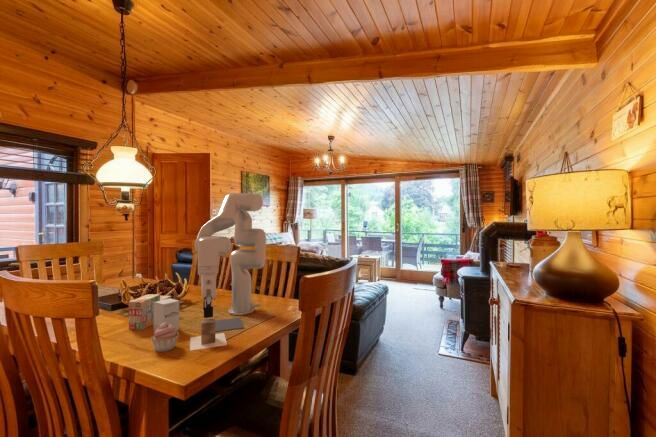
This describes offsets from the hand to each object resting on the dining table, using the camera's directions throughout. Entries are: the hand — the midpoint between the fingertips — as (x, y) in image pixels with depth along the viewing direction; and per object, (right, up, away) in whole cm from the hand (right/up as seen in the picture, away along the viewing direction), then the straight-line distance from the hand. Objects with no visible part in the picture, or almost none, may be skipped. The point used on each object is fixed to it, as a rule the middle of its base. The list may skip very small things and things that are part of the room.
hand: (207, 313), depth 123 cm
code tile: (0, -11, 0) cm, 11 cm away
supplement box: (-22, -11, +12) cm, 27 cm away
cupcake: (-13, -11, -6) cm, 19 cm away
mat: (+1, -11, +18) cm, 21 cm away
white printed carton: (-35, -11, +23) cm, 43 cm away
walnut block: (0, -11, 0) cm, 11 cm away
